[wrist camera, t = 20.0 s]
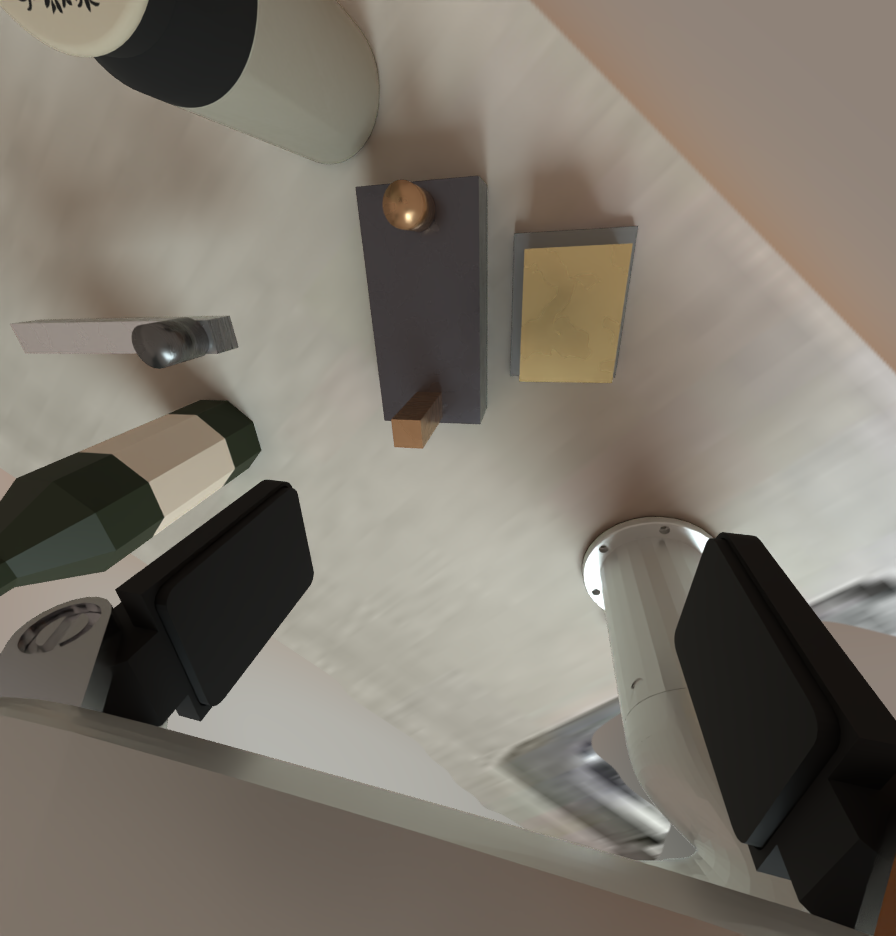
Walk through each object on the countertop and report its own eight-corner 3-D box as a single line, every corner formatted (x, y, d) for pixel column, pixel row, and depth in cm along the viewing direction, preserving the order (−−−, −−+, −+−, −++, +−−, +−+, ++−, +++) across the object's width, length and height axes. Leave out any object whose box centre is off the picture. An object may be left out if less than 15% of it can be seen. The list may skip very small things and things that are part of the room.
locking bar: (239, 350, 27) (180, 368, 23) (56, 350, 30) (-25, 366, 26) (228, 312, 26) (165, 324, 22) (40, 316, 29) (-48, 327, 25)
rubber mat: (613, 374, 31) (615, 377, 31) (510, 373, 33) (510, 376, 32) (635, 226, 27) (638, 226, 26) (515, 233, 28) (514, 233, 28)
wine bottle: (276, 456, 43) (-143, 770, 17) (223, 478, 46) (-198, 771, 20) (228, 385, 40) (-366, 631, 14) (175, 413, 43) (-391, 658, 17)
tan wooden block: (602, 364, 31) (611, 382, 26) (523, 364, 32) (519, 381, 27) (619, 244, 27) (632, 243, 22) (528, 249, 28) (524, 249, 24)
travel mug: (374, 175, 29) (171, 85, 13) (272, 152, 29) (-34, 40, 14) (388, 20, 25) (120, -374, 9) (270, -3, 25) (-165, -405, 10)
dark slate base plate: (486, 407, 35) (467, 457, 26) (399, 404, 37) (354, 451, 28) (487, 185, 27) (460, 154, 19) (378, 194, 29) (307, 170, 21)
